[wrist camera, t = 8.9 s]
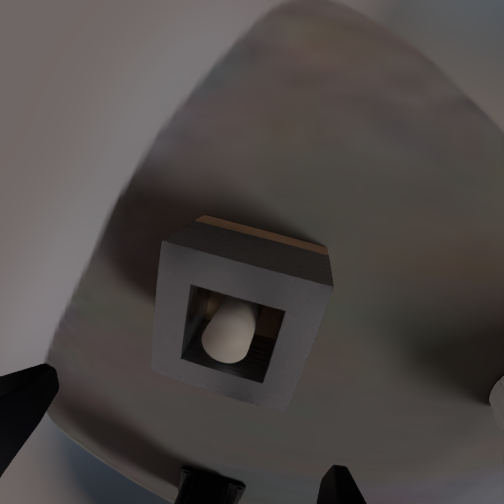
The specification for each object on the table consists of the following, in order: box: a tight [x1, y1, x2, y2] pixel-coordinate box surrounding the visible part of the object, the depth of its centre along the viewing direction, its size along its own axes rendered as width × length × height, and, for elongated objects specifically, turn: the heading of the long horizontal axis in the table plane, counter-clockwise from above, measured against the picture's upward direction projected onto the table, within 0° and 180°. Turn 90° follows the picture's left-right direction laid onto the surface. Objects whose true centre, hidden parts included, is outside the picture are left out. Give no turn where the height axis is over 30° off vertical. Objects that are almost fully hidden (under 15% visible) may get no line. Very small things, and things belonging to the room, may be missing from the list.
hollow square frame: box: [151, 221, 334, 412], centre depth 15 cm, size 7×7×4 cm
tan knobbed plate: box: [195, 215, 328, 363], centre depth 16 cm, size 7×7×6 cm
